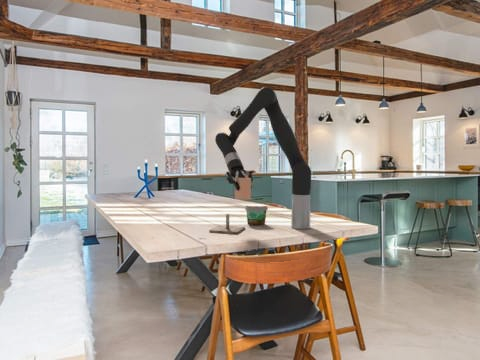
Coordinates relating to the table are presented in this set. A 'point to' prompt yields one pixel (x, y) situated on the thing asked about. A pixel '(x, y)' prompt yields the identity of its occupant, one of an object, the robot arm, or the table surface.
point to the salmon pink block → (243, 189)
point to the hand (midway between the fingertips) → (244, 189)
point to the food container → (256, 215)
